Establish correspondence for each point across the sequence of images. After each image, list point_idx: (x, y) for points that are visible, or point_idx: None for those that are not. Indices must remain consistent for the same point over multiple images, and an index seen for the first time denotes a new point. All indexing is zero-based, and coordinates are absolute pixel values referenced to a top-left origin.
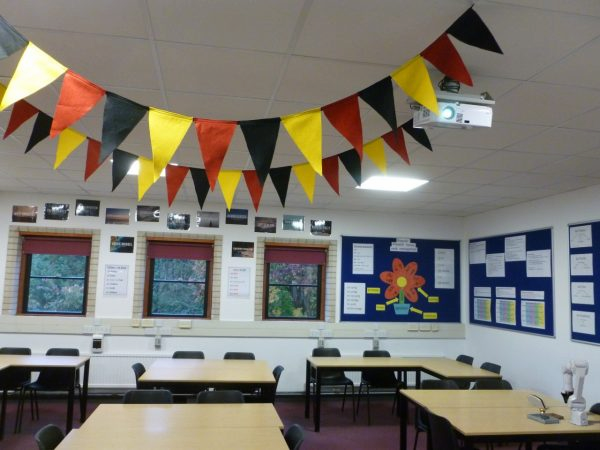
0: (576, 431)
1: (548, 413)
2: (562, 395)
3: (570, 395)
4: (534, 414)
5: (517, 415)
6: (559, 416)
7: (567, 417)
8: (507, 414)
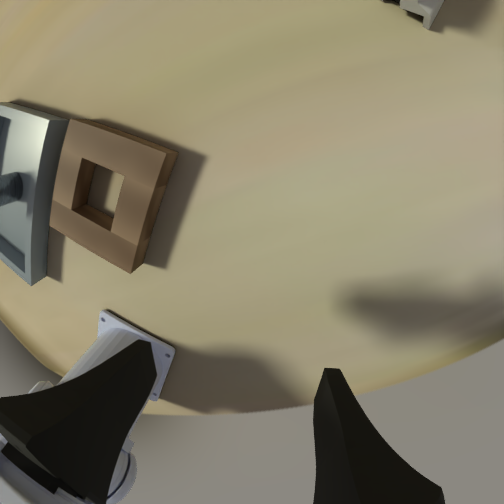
0: (35, 357)
1: (107, 137)
2: (34, 402)
3: (331, 475)
4: (11, 118)
5: (19, 44)
6: (97, 251)
7: (241, 261)
8: (13, 19)
